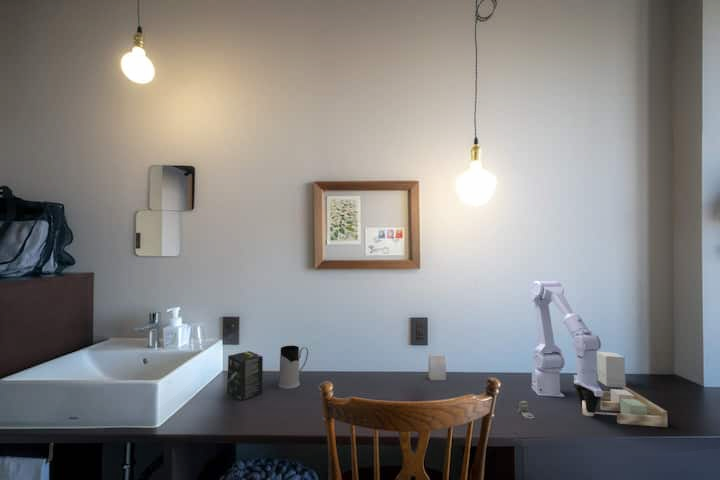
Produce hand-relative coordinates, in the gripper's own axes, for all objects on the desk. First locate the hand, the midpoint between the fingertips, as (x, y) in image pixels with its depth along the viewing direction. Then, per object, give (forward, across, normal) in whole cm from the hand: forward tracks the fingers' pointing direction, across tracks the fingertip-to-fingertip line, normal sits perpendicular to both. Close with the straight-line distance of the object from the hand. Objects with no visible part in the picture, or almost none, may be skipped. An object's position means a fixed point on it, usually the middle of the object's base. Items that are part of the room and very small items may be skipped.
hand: (587, 409), depth 114 cm
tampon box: (+2, +3, -123) cm, 123 cm away
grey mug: (+2, -11, -108) cm, 109 cm away
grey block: (+2, -9, +16) cm, 19 cm away
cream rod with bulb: (+2, 0, +7) cm, 8 cm away
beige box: (+2, -26, -48) cm, 55 cm away
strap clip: (+2, +2, -21) cm, 22 cm away
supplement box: (+2, -32, +25) cm, 40 cm away
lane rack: (+2, -5, +14) cm, 14 cm away
